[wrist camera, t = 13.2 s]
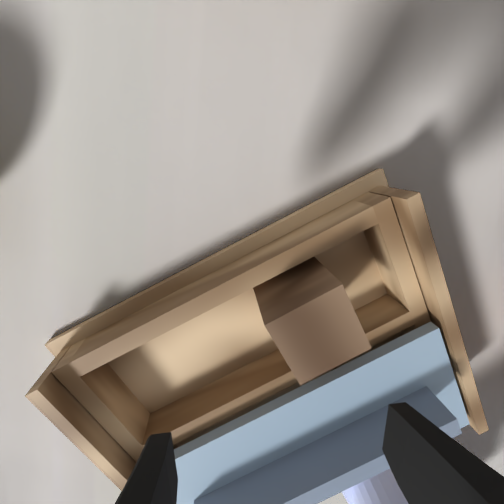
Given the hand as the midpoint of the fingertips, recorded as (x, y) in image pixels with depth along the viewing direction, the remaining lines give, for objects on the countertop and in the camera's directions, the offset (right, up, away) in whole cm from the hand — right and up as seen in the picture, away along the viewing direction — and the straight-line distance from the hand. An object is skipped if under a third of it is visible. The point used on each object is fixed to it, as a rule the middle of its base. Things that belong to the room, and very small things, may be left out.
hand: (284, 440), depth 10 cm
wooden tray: (+1, -2, +11) cm, 12 cm away
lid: (+3, -6, +9) cm, 11 cm away
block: (+2, +4, +9) cm, 10 cm away
